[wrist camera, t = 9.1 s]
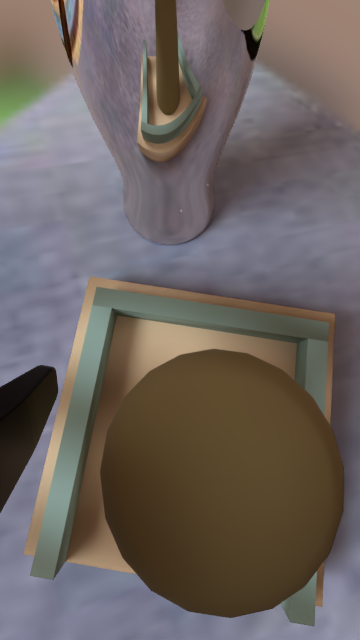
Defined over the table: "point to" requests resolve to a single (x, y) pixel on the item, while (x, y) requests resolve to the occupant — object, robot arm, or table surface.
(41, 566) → the dock
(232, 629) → the table surface
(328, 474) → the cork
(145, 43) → the silver metal tumbler
